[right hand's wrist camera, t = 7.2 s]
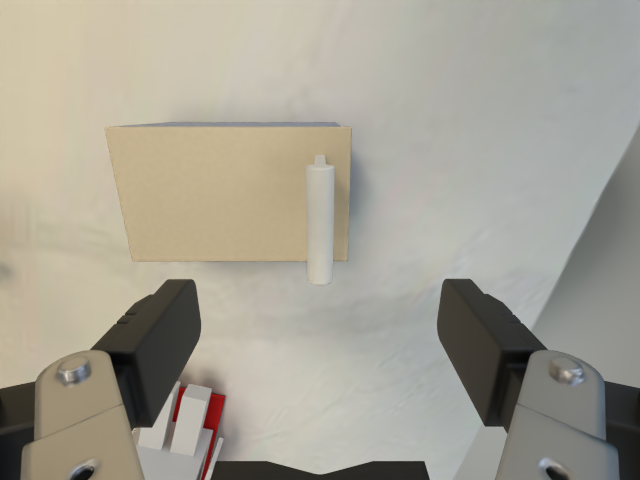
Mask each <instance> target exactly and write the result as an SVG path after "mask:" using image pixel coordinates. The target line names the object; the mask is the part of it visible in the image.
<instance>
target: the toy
mask: <svg viewBox="0 0 640 480" xmlns="http://www.w3.org/2000/svg"><path fill="white" fill-rule="evenodd" d="M180 383H181V382H180V381H177V382H176V384H175V386H174V388H173V390H172V391H171V393H170V395H169V397H168V399H167V401H166V403H165V405H164V406H163V408H162V410H161V412H160V414H159V416H158V418H157V420H156V422H155V423H154V425H153V427H152V428H137V429H136V431H135V432H134V434H133V439H134V442H135V446H136V449H137V453H138V456H139V460H140V463H141V467H142V470H143V474H144V478H145V480H210V478H211V475H212V472H213V469H214V465H215V462H216V461H217V458H218V455H219V452H220V449H221V446H222V443H223V440H224V438H221V437H220V438H219V440H218V443H217V446H216V449H215V451H214V454H213V457H212V460H211V462H210V459H211V454H212V450H213V446H214V442H215V437H216V433H217V429H218V424H219V420H220V416H221V412H222V407H223V403H224V399H225V396H222V395H217V394H212V393H211V392H212V388H207V387H203V386H198V385H194V384H189V385H188V387H187V388H181V387H180ZM209 463H210V465H209ZM208 467H209V468H208Z"/></svg>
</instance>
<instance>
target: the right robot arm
mask: <svg viewBox="0 0 640 480" xmlns="http://www.w3.org/2000/svg"><path fill="white" fill-rule="evenodd" d="M437 330H438V336H439V339H440V341H441V343H442V345H443V347H444V349H445V351H446V353H447V355H448V357H449V359H450V361H451V362H452V364H453V366H454V368H455V370H456V372H457V374H458V376H459V378H460V380H461V381H462V383H463V385H464V387H465V389H466V391H467V393H468V395H469V397H470V399H471V401H472V402H473V404H474V406H475V408H476V410H477V412H478V414H479V416H480V418H481V420H482V422H483V423H484V425H485V426H503V427H504V429H505V430H506V432H507V434H508V435H507V439H506V442H505V446H504V449H503V453H502V456H501V460H500V464H499V467H498V471H497V474H496V478H495V480H640V388H636V387H631V386H626V385H621V384H616V383H612V382H607V381H604V380H603V378H602V376H601V375H600V373H599V372H598V371H597V370H596V369H594V368H593V367H592V366H591V365H589V364H588V363H586V362H584V361H583V360H581V359H579V358H577V357H574V356H572V355H569V354H566V353H563V352H559V351H553V350H548V349H547V348H546V347H545V346H544V345H543V344H542V343H541V342H540V341H539V340H538V339H537V338H536V337H535V336H534V335H533V334H532V333H531V332H530V331H529V329H528V328H527V327H526V326H525V325H524V324H523V323H521V321H520V320H519V319H518V318H517V317H516V316H515V315H513V314H512V312H511V311H510V310H509V309H508V308H507V306H506V305H505V304H504V303H503V302H501V301H499V300H497V299H496V298H494V297H492V296H491V295H489V294H484V293H483V292H482V291H481V290H480V289H479V288H478V287H477V286H476V284H475V283H474V282H473V281H472V280H471V279H445V280H444V282H443V285H442V291H441V298H440V305H439V312H438V319H437ZM200 333H201V318H200V311H199V304H198V297H197V290H196V285H195V282H194V281H193V280H192V279H168V280H167V281H166V282H165V283H164V284H163V285H162V286H161V287H160V288H159V289H158V290H157V291H156V293H155V294H154V295H148V296H147V297H145V298H143V299H141V300H140V301H138V302H136V303H135V304H134V305H133V306H132V307H131V308H130V309H129V310H128V311H127V312H126V313H125V315H123V316H122V317H121V318H120V319H119V320H118V321H117V324H114V325H113V326H112V328H111V329H110V330H109V331H108V332H107V333H106V334H105V335H104V336H103V337H102V338H101V339H100V340H99V341H98V342H97V343H96V344H95V345H94V346H93V347H92V348H91V349H90V350H87V351H81V352H77V353H74V354H71V355H68V356H66V357H63V358H61V359H59V360H57V361H56V362H54V363H52V364H51V365H49V366H48V367H47V368H46V369H44V370H43V371H42V372H41V373H40V375H39V376H38V378H37V380H36V381H35V382H31V383H26V384H21V385H16V386H12V387H7V388H2V389H0V480H145V478H144V474H143V470H142V467H141V463H140V460H139V456H138V453H137V449H136V446H135V442H134V439H133V435H132V430H133V428H152V427H153V425H154V423H155V422H156V420H157V418H158V416H159V414H160V412H161V410H162V408H163V406H164V405H165V403H166V401H167V399H168V397H169V395H170V393H171V391H172V390H173V388H174V386H175V384H176V382H177V380H178V378H179V376H180V374H181V373H182V371H183V369H184V367H185V365H186V363H187V361H188V359H189V357H190V356H191V354H192V352H193V350H194V348H195V346H196V344H197V342H198V340H199V337H200ZM210 480H430V479H429V476H428V472H427V469H426V465H425V462H424V461H372V462H368V463H365V464H361V465H357V466H353V467H350V468H346V469H342V470H338V471H335V472H331V473H327V474H322V475H318V474H313V473H309V472H305V471H302V470H298V469H294V468H290V467H287V466H283V465H279V464H275V463H272V462H268V461H216V462H215V465H214V469H213V472H212V476H211V479H210Z"/></svg>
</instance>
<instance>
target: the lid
mask: <svg viewBox="0 0 640 480" xmlns="http://www.w3.org/2000/svg"><path fill="white" fill-rule="evenodd" d="M105 132H106V137H107V142H108V147H109V151H110V156H111V161H112V166H113V171H114V175H115V180H116V185H117V190H118V194H119V199H120V204H121V209H122V214H123V218H124V223H125V228H126V233H127V237H128V242H129V247H130V252H131V257H132V261H307V280H308V282H309V283H311V284H313V285H327V284H329V283H331V282H332V280H333V261H347V260H348V232H349V200H350V167H351V135H352V128H351V127H105Z"/></svg>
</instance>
